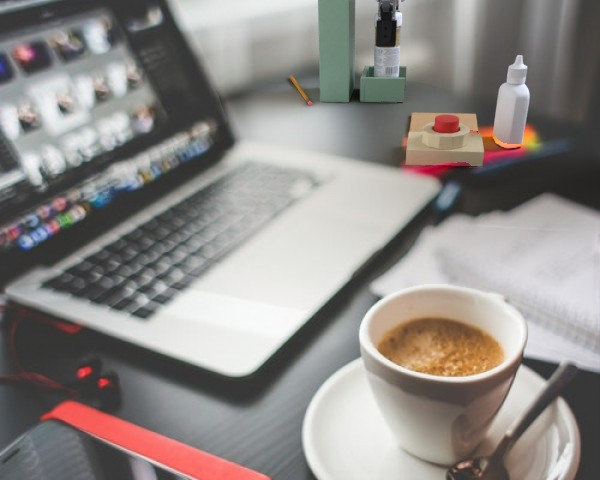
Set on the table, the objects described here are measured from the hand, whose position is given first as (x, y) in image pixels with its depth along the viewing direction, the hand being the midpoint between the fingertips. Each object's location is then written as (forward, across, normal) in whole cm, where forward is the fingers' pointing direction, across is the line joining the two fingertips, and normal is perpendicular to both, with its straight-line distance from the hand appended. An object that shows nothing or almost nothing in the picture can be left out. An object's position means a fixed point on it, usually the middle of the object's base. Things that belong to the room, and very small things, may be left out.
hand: (387, 40), depth 106 cm
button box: (+9, -28, -10) cm, 31 cm away
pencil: (+9, +2, +16) cm, 19 cm away
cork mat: (+9, -16, -10) cm, 21 cm away
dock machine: (+9, 0, +4) cm, 10 cm away
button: (+6, -28, -10) cm, 30 cm away
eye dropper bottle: (+9, -22, -19) cm, 31 cm away
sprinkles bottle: (+9, 0, 0) cm, 9 cm away
